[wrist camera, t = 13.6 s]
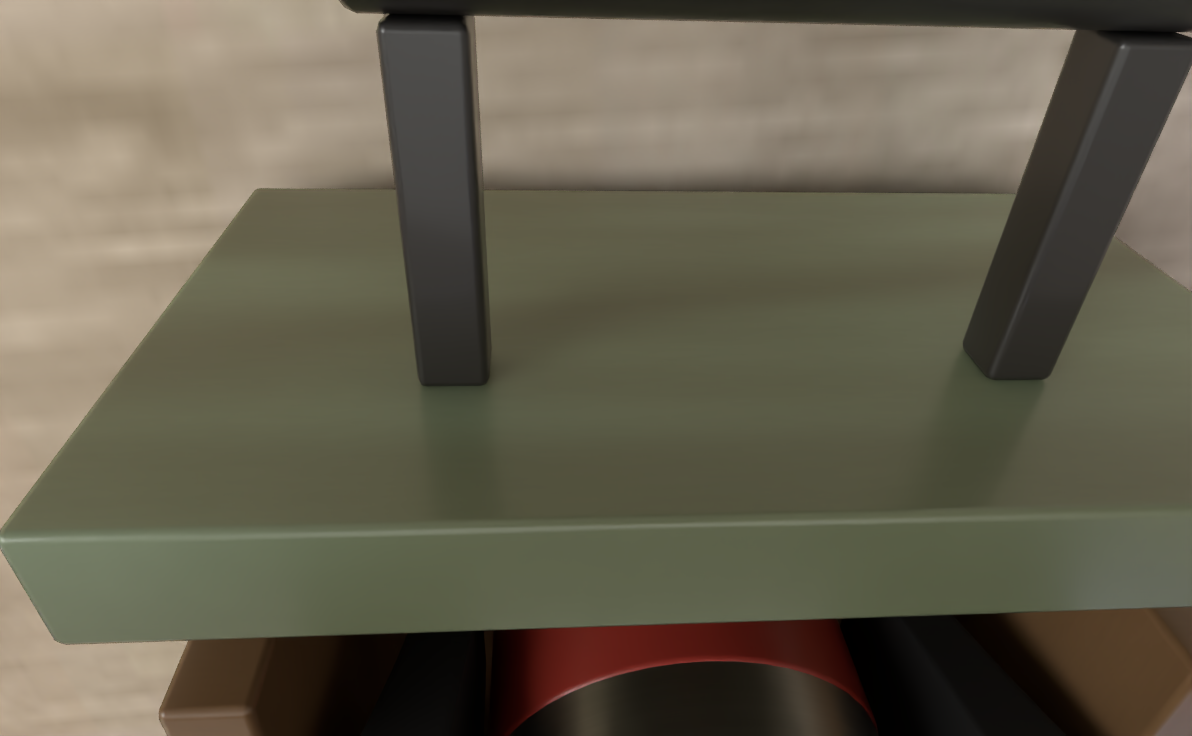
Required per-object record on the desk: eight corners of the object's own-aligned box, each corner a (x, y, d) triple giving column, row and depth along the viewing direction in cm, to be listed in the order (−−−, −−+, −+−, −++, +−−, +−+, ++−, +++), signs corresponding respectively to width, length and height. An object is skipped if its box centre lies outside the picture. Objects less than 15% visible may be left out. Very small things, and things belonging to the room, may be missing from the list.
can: (819, 420, 12) (973, 743, 8) (766, 624, 14) (857, 941, 10) (492, 423, 11) (468, 766, 7) (503, 632, 14) (490, 964, 10)
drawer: (158, -239, 8) (-548, -345, 3) (1208, -191, 8) (2177, -203, 3) (376, 717, 17) (312, 1079, 12) (857, 697, 18) (979, 1030, 13)
